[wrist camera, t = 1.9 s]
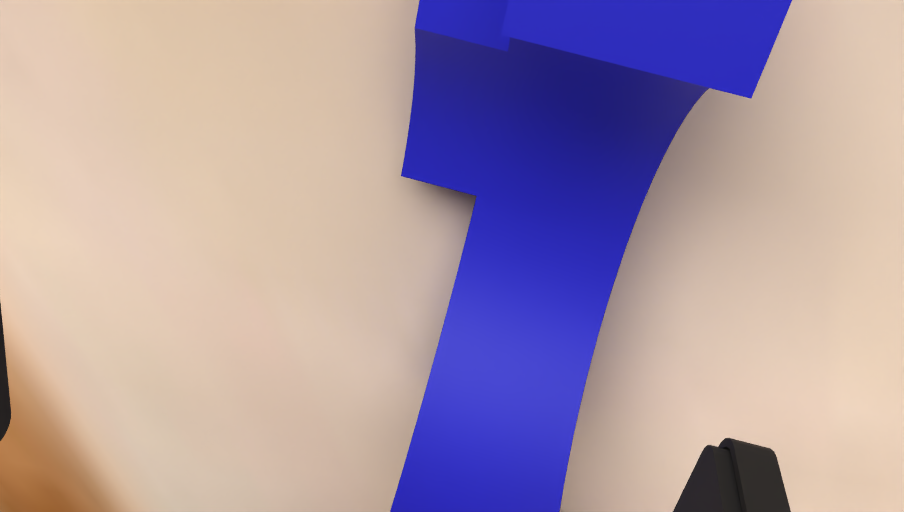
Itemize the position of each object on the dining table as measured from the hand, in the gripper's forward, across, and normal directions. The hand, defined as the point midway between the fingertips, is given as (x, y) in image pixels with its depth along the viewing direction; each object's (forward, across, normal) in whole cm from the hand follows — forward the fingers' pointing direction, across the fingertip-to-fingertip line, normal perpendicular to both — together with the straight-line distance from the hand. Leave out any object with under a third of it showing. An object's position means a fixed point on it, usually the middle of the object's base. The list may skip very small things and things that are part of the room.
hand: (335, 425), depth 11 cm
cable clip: (+8, -2, -1) cm, 8 cm away
